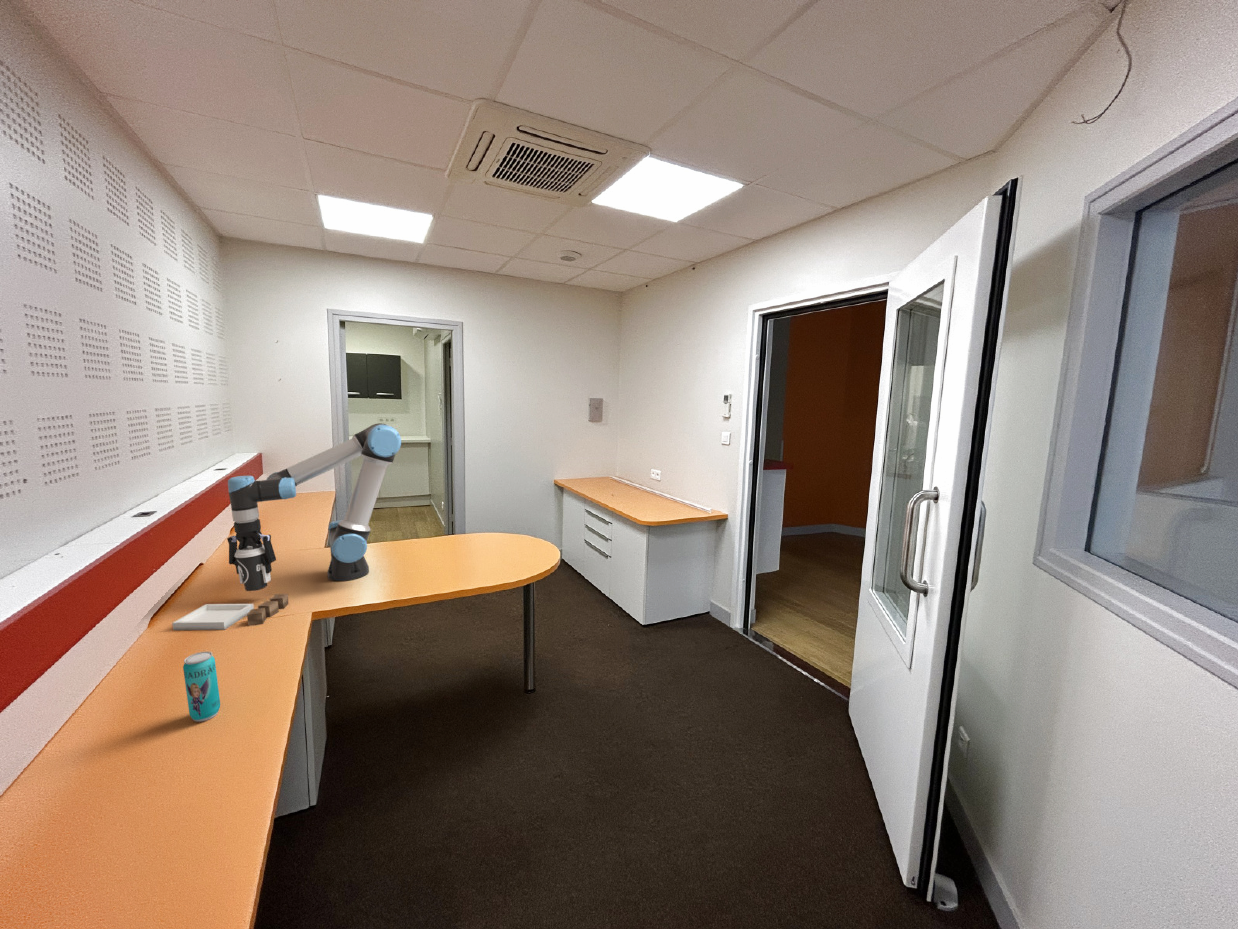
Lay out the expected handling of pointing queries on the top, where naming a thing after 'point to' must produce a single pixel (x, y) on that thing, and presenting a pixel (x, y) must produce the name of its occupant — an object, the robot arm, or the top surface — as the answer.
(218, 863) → the top surface
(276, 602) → the block
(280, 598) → the block
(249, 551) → the coffee cup
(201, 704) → the beverage can
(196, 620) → the tray
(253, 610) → the block
